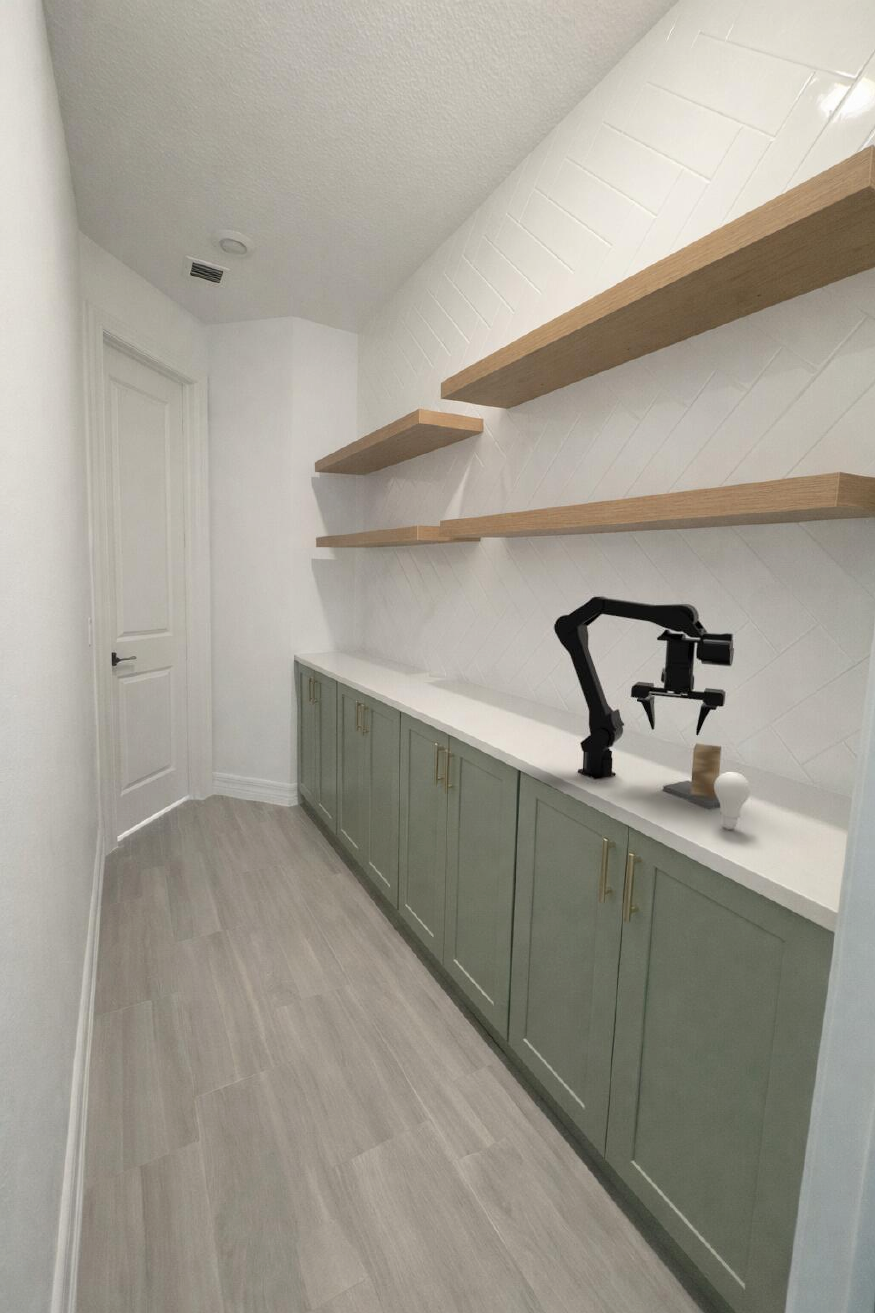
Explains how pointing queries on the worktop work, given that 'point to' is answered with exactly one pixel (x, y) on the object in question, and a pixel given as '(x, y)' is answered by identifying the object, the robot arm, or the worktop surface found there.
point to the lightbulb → (731, 796)
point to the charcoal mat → (684, 792)
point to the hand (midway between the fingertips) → (674, 732)
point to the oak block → (705, 770)
